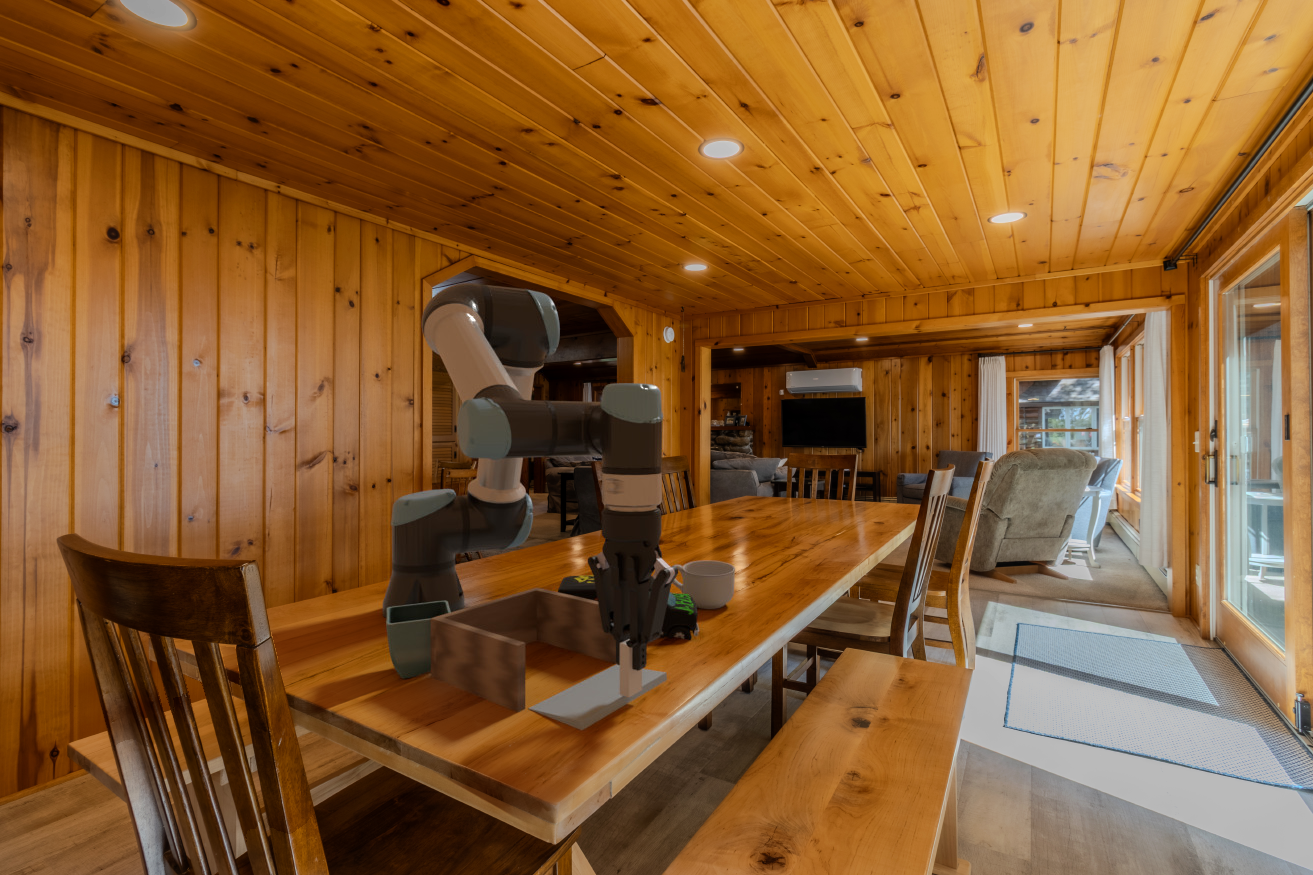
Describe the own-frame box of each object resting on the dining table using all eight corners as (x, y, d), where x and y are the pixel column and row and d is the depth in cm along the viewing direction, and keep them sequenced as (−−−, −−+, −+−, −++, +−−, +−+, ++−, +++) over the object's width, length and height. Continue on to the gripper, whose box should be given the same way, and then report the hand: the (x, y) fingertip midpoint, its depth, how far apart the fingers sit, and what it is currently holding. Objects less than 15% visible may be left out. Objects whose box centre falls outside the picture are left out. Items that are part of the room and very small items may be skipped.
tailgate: (528, 708, 75) (581, 721, 70) (616, 664, 89) (666, 672, 84) (529, 717, 75) (582, 731, 70) (617, 672, 89) (667, 681, 84)
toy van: (700, 646, 101) (700, 587, 101) (550, 648, 100) (550, 588, 99) (693, 625, 111) (693, 571, 111) (557, 627, 110) (557, 572, 110)
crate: (430, 685, 85) (430, 618, 85) (537, 644, 101) (537, 587, 101) (518, 722, 74) (517, 645, 74) (620, 669, 91) (621, 606, 91)
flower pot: (386, 687, 84) (385, 623, 84) (386, 664, 92) (386, 606, 92) (452, 677, 88) (452, 616, 88) (447, 656, 96) (447, 599, 96)
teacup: (743, 602, 125) (743, 564, 125) (720, 616, 116) (720, 575, 116) (685, 592, 133) (685, 556, 133) (658, 604, 124) (658, 565, 124)
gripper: (573, 505, 77) (572, 689, 78) (656, 515, 69) (655, 718, 70) (611, 499, 83) (610, 669, 84) (691, 507, 76) (690, 695, 76)
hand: (630, 691), depth 77 cm, fingers closed
